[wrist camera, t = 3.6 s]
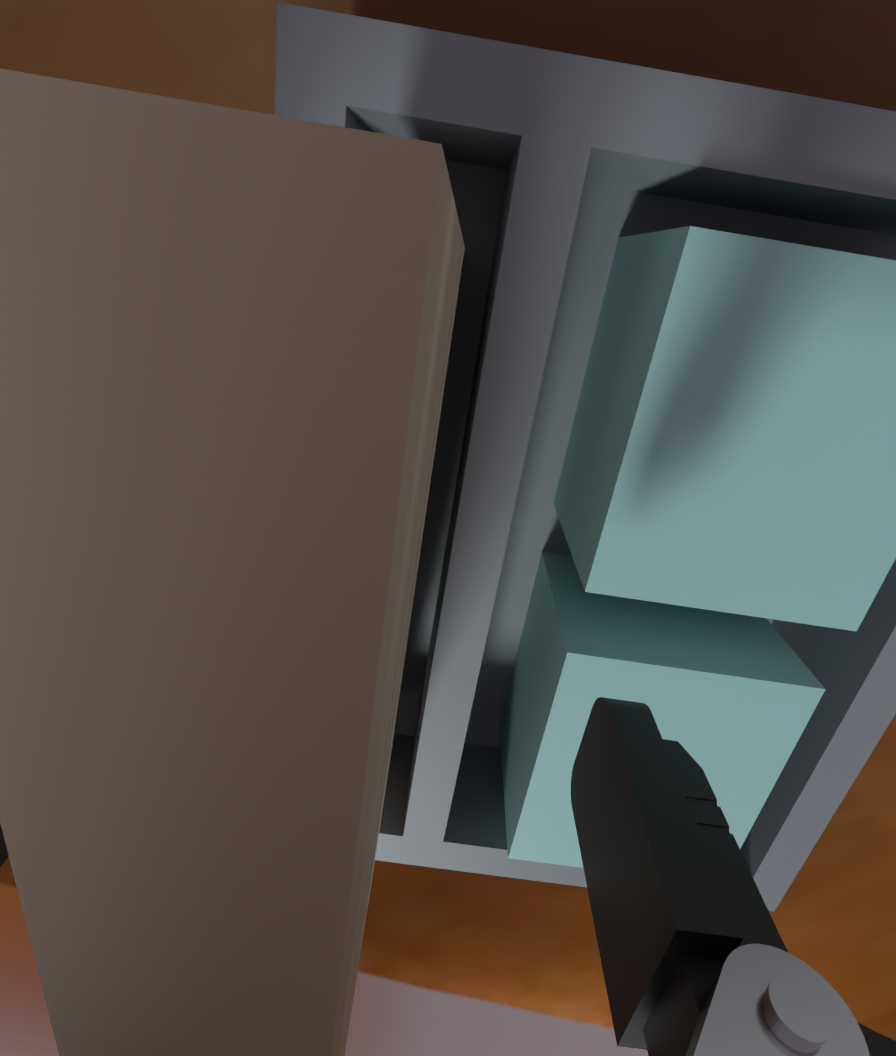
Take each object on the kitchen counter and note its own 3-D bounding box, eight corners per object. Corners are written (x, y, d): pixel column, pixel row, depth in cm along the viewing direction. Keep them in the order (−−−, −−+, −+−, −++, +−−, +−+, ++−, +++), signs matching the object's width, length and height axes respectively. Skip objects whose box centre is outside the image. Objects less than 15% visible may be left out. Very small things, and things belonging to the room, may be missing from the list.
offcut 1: (553, 503, 17) (584, 591, 12) (617, 237, 14) (690, 225, 9) (753, 533, 17) (856, 631, 13) (858, 277, 14) (1041, 285, 10)
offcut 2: (499, 725, 20) (508, 858, 16) (541, 551, 18) (567, 652, 13) (665, 748, 21) (720, 885, 16) (734, 580, 18) (825, 689, 13)
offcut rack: (304, 721, 22) (260, 845, 18) (341, 90, 14) (276, 2, 9) (710, 776, 23) (774, 911, 18) (979, 200, 14) (1228, 169, 10)
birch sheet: (354, 688, 20) (155, 1433, 7) (400, 239, 14) (-201, 33, 1) (400, 694, 20) (283, 1446, 7) (465, 250, 14) (440, 144, 1)
